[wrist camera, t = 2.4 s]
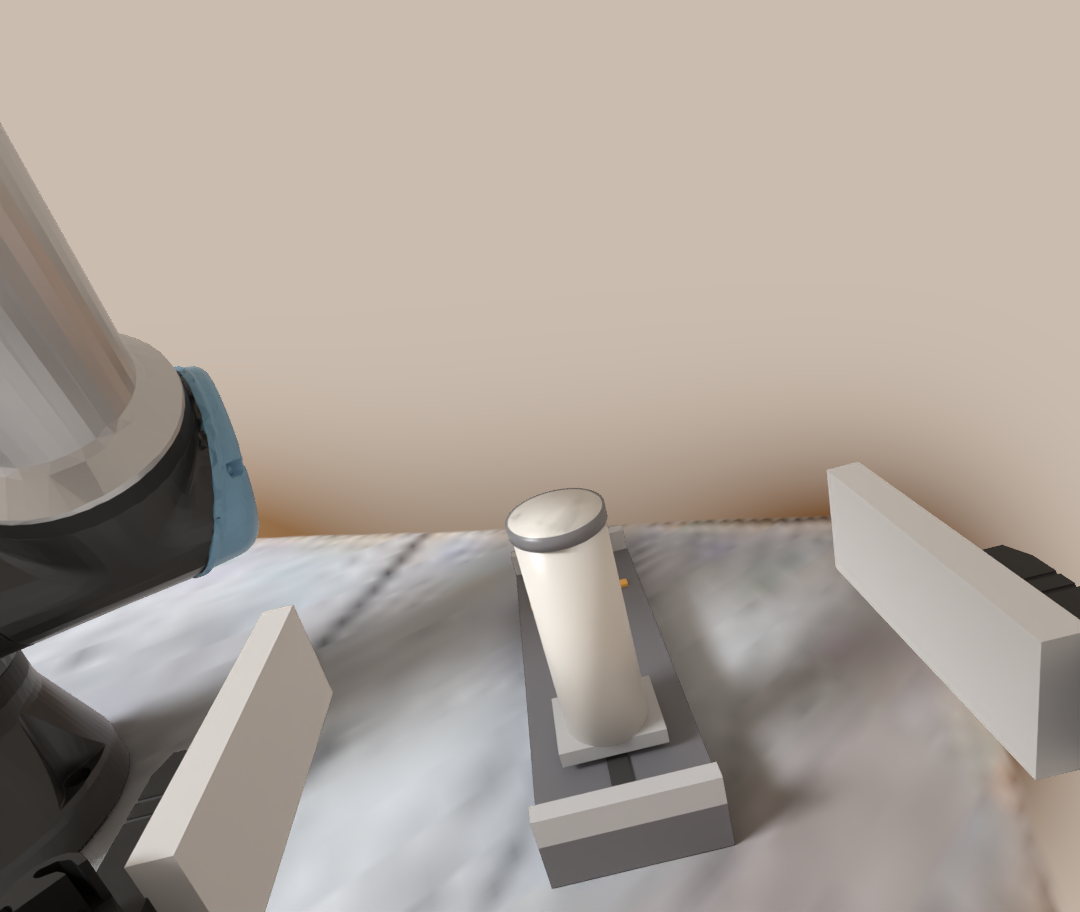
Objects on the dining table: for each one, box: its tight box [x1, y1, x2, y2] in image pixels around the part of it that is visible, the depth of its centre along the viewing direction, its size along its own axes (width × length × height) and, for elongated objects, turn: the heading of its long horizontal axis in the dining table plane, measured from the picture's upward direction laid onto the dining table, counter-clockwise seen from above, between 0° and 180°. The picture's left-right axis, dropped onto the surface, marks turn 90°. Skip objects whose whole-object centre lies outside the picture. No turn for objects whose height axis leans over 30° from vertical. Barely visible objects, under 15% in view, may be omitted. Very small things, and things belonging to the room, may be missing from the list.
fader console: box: [511, 525, 735, 888], centre depth 38 cm, size 22×8×4 cm, turn 4°
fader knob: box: [505, 488, 670, 768], centre depth 30 cm, size 4×5×12 cm
